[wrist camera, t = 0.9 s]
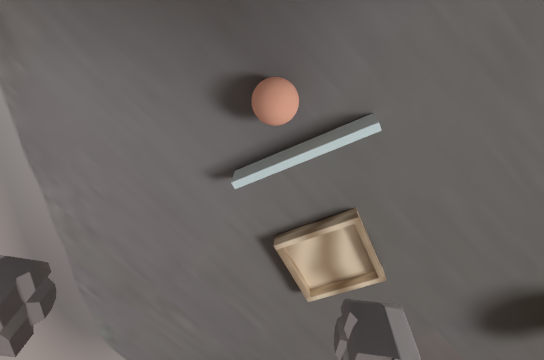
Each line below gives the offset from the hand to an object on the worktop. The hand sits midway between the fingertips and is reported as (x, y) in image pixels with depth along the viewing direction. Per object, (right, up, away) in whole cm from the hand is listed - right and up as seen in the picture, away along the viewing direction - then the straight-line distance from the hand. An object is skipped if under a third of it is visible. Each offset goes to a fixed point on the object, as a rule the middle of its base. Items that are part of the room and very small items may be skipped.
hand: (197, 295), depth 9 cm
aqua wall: (+6, +7, +31) cm, 32 cm away
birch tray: (+10, -7, +39) cm, 41 cm away
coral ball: (+2, +11, +26) cm, 29 cm away
